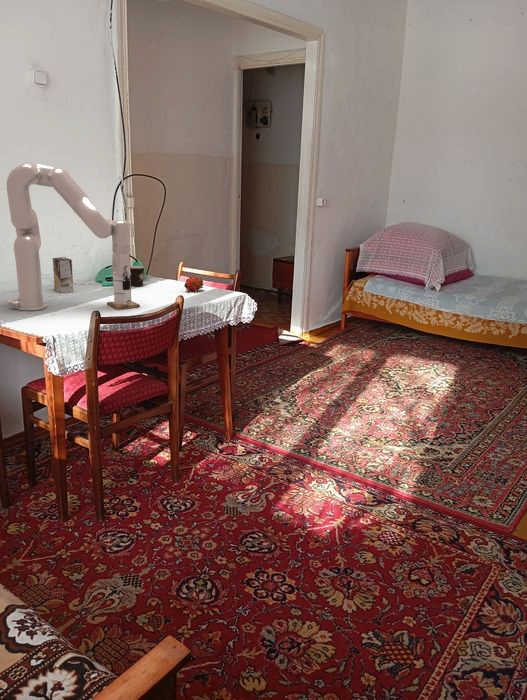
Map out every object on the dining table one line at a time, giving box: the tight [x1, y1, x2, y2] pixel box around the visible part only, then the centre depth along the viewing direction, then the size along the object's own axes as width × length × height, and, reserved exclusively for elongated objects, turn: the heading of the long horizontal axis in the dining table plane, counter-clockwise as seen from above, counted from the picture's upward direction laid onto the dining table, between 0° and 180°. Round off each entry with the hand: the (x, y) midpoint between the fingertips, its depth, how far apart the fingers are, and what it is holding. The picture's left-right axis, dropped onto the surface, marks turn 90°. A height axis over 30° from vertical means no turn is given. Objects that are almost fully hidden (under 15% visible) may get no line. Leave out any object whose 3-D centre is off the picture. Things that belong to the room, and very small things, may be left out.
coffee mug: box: [130, 265, 145, 288], centre depth 300 cm, size 12×9×10 cm
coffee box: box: [52, 256, 74, 294], centre depth 281 cm, size 9×6×16 cm
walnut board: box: [106, 300, 141, 311], centre depth 257 cm, size 11×11×1 cm
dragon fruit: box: [183, 275, 204, 292], centre depth 295 cm, size 8×8×12 cm
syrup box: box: [112, 272, 132, 305], centre depth 255 cm, size 6×6×14 cm
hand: (121, 287), depth 255 cm, fingers open, 9 cm apart
